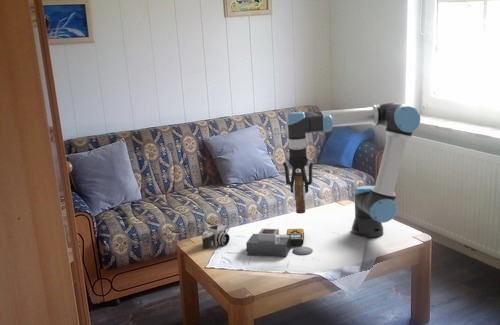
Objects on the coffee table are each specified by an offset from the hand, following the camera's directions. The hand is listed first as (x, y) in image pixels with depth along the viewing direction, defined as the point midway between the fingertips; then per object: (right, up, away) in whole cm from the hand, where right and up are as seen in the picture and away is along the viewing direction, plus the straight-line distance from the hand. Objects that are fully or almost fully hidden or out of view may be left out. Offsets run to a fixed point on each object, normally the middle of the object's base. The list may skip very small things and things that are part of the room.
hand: (300, 199), depth 235 cm
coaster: (+2, -24, +5) cm, 24 cm away
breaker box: (-13, -24, +7) cm, 29 cm away
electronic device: (0, -21, +26) cm, 33 cm away
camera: (-38, -24, +19) cm, 48 cm away
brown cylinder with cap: (0, -6, +1) cm, 6 cm away
